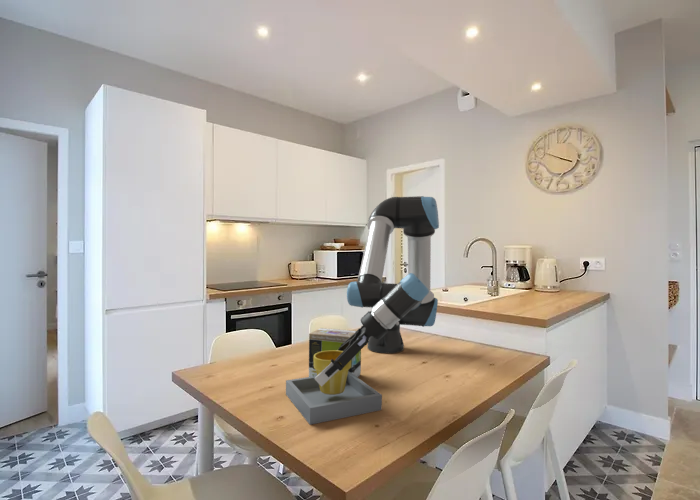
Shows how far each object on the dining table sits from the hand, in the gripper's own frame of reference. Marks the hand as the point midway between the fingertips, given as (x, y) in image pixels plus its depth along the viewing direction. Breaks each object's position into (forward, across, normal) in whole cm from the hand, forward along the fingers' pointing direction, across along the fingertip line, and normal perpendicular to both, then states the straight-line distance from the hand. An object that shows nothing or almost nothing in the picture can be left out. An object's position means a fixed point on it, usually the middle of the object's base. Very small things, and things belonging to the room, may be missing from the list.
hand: (321, 375), depth 103 cm
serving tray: (+3, 0, -7) cm, 8 cm away
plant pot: (+1, 0, -5) cm, 5 cm away
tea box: (+4, +20, -6) cm, 22 cm away
